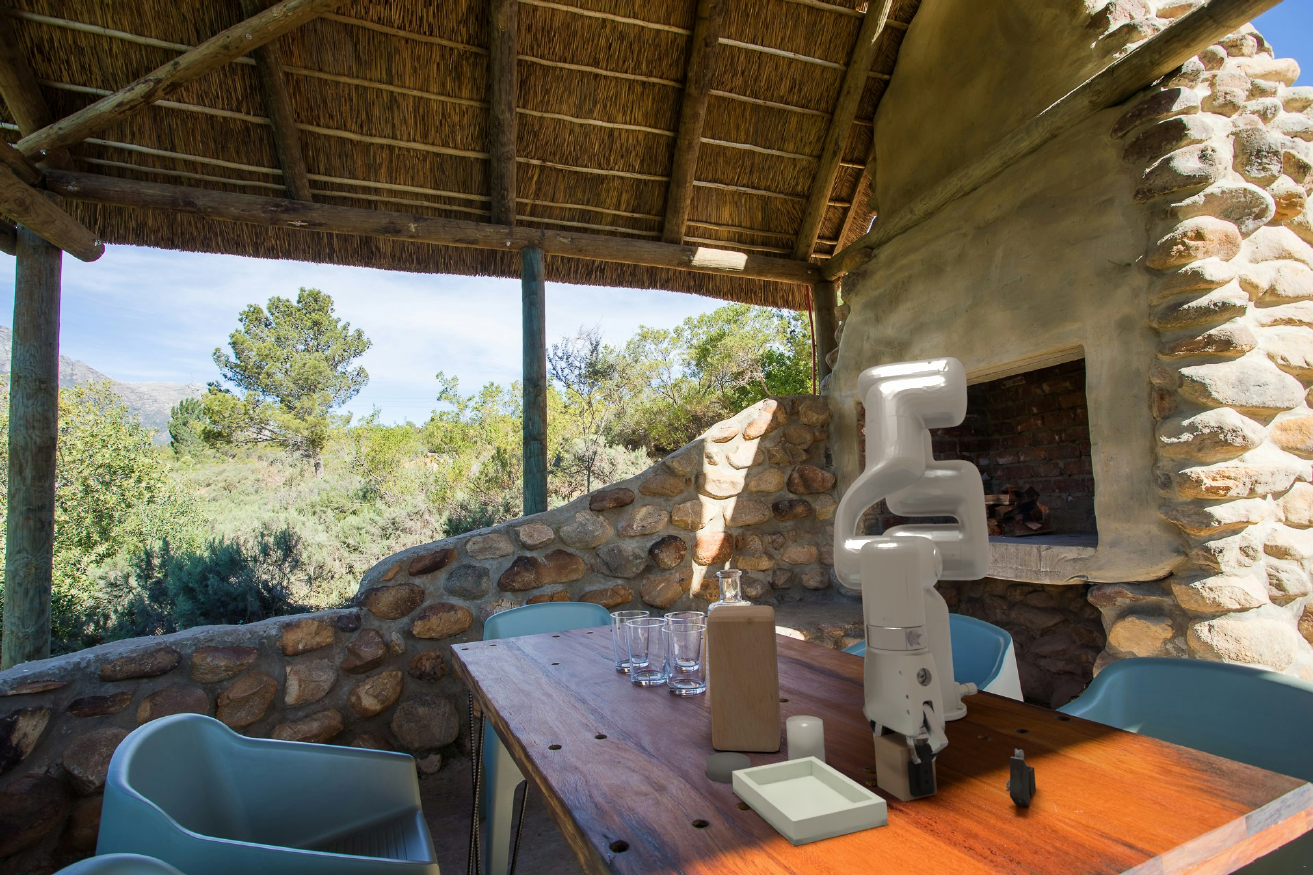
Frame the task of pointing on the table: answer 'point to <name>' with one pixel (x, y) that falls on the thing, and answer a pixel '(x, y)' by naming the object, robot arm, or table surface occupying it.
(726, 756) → the gray rounded object
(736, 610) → the wooden block
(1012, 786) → the lighter
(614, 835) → the table surface
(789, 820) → the tray
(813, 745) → the white rounded cylinder
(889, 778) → the walnut block
